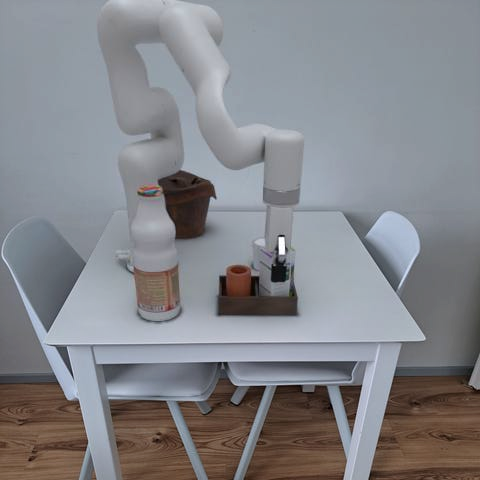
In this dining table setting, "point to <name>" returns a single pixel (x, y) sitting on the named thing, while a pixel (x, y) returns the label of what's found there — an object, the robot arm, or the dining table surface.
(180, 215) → the brown tapered bucket
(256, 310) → the spice rack
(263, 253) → the syrup box
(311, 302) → the dining table surface
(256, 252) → the white tapered cylinder
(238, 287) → the orange hollow cylinder
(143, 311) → the fruit juice
